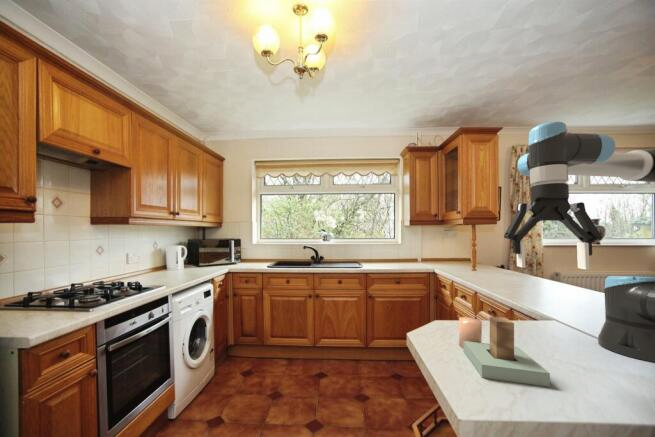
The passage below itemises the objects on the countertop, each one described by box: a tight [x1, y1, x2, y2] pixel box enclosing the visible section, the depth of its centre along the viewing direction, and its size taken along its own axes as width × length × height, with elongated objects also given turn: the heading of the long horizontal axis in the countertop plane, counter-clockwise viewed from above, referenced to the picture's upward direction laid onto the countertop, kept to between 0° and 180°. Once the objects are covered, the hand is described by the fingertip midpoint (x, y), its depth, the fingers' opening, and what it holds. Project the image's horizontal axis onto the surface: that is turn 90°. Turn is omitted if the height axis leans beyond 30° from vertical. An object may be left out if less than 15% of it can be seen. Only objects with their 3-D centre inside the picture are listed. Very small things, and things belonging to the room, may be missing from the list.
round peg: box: [458, 316, 483, 350], centre depth 79 cm, size 6×6×8 cm
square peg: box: [489, 316, 515, 361], centre depth 68 cm, size 4×4×12 cm
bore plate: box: [463, 341, 551, 388], centre depth 67 cm, size 14×14×3 cm
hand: (551, 268), depth 66 cm, fingers open, 13 cm apart
